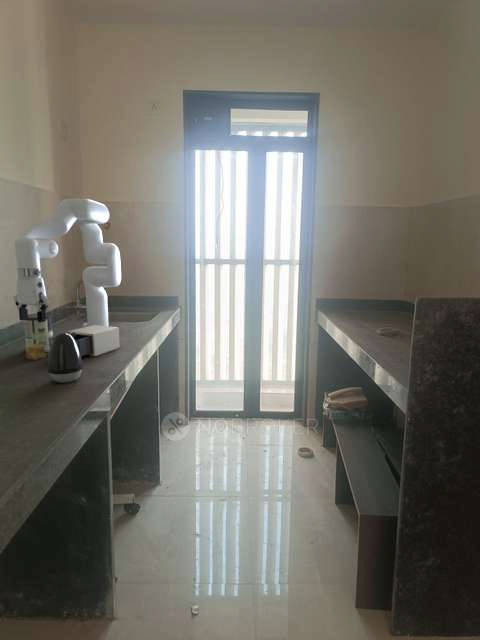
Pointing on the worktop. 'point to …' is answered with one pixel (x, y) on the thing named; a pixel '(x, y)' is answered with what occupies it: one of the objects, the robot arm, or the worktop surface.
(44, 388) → the worktop surface
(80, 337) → the dark grey storage bin
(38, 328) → the coffee can
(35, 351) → the cube
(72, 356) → the dark grey rounded dome
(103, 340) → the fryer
